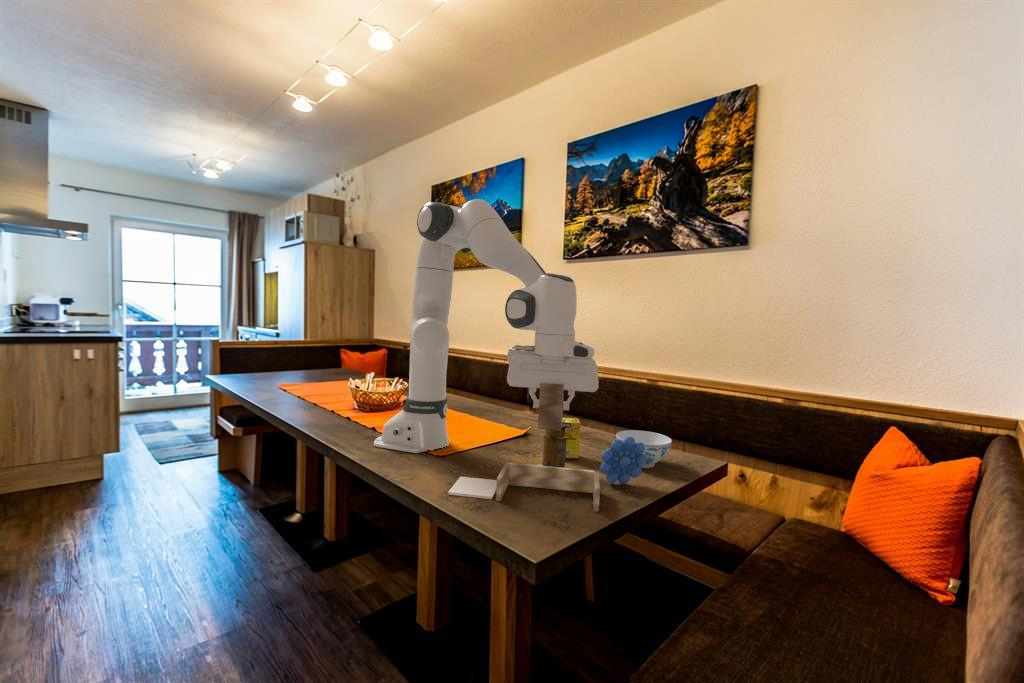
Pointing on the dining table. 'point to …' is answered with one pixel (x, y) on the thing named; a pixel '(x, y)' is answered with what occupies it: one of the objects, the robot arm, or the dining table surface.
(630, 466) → the grapes
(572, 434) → the supplement box
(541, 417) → the walnut block
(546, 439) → the condiment
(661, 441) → the chinaware
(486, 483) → the coaster
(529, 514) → the dining table surface
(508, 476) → the u-shaped barrier
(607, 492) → the dining table surface
